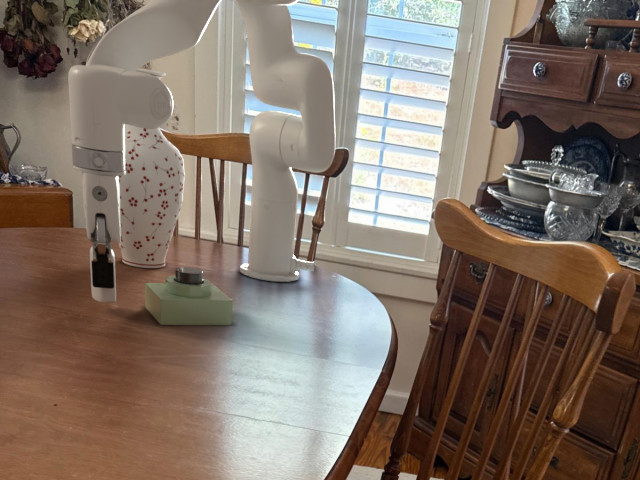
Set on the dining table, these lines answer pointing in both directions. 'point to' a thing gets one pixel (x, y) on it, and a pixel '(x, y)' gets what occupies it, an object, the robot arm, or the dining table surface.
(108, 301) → the eye dropper bottle
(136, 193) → the vase
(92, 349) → the dining table surface
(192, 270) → the dark grey button cap
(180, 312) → the button base
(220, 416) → the dining table surface
